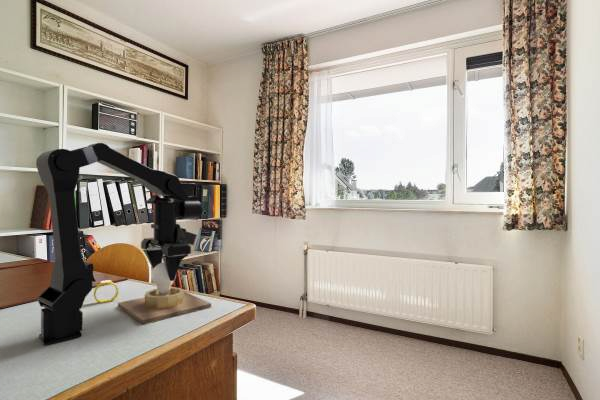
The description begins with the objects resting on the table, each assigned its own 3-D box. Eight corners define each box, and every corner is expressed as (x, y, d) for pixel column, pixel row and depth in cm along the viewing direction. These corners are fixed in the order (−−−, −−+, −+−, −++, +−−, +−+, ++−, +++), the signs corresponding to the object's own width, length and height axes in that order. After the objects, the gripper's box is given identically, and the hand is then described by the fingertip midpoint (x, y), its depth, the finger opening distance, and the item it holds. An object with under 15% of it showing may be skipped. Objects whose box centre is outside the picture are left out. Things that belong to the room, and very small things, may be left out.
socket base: (142, 324, 77) (142, 320, 77) (117, 306, 90) (117, 302, 90) (211, 306, 90) (211, 303, 90) (181, 293, 103) (181, 290, 103)
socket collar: (153, 311, 83) (153, 299, 83) (139, 302, 90) (139, 291, 90) (189, 303, 90) (189, 292, 90) (173, 295, 97) (174, 285, 97)
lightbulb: (146, 303, 89) (146, 263, 89) (165, 297, 95) (165, 259, 95) (162, 307, 86) (162, 265, 86) (181, 301, 92) (181, 261, 92)
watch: (94, 305, 91) (93, 284, 91) (94, 303, 93) (92, 282, 93) (119, 300, 95) (117, 280, 94) (117, 298, 97) (116, 278, 97)
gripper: (209, 221, 89) (208, 278, 89) (178, 217, 102) (177, 268, 102) (169, 222, 81) (168, 286, 81) (140, 219, 94) (140, 273, 94)
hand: (164, 277), depth 90 cm, fingers open, 9 cm apart
